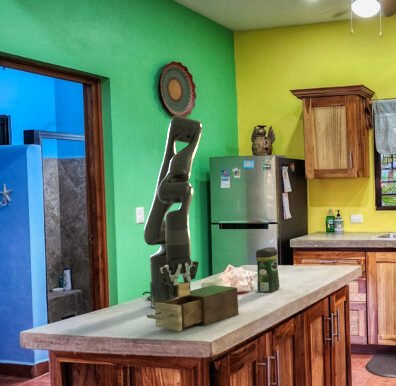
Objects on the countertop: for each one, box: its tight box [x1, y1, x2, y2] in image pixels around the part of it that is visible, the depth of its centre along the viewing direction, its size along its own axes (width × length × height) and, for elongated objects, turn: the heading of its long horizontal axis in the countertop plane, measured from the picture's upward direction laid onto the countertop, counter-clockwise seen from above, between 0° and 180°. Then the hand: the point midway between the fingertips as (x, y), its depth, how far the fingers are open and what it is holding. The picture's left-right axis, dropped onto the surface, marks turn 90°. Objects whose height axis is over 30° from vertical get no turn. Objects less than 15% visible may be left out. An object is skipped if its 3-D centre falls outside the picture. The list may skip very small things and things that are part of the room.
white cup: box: [200, 277, 224, 288], centre depth 185 cm, size 8×8×10 cm
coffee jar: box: [255, 246, 281, 294], centre depth 209 cm, size 10×8×19 cm
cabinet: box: [178, 285, 239, 327], centre depth 168 cm, size 15×13×10 cm
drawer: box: [146, 297, 203, 332], centre depth 158 cm, size 18×11×8 cm, turn 151°
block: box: [177, 281, 191, 298], centre depth 159 cm, size 4×4×4 cm
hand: (180, 294), depth 159 cm, fingers closed on block, 4 cm apart
